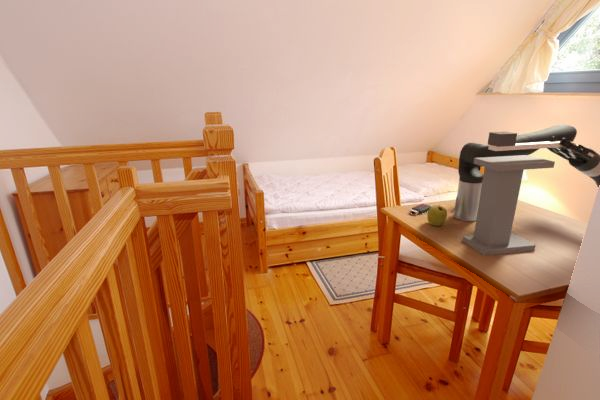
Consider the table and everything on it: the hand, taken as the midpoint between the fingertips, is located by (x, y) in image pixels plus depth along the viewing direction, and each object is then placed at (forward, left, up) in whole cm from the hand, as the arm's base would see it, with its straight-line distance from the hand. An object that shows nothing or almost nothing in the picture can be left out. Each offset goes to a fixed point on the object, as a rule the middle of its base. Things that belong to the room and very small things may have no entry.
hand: (556, 139), depth 109 cm
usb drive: (-44, +13, -39) cm, 60 cm away
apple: (-35, 0, -38) cm, 52 cm away
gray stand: (-12, -10, -38) cm, 41 cm away
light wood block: (-7, -6, -2) cm, 10 cm away
